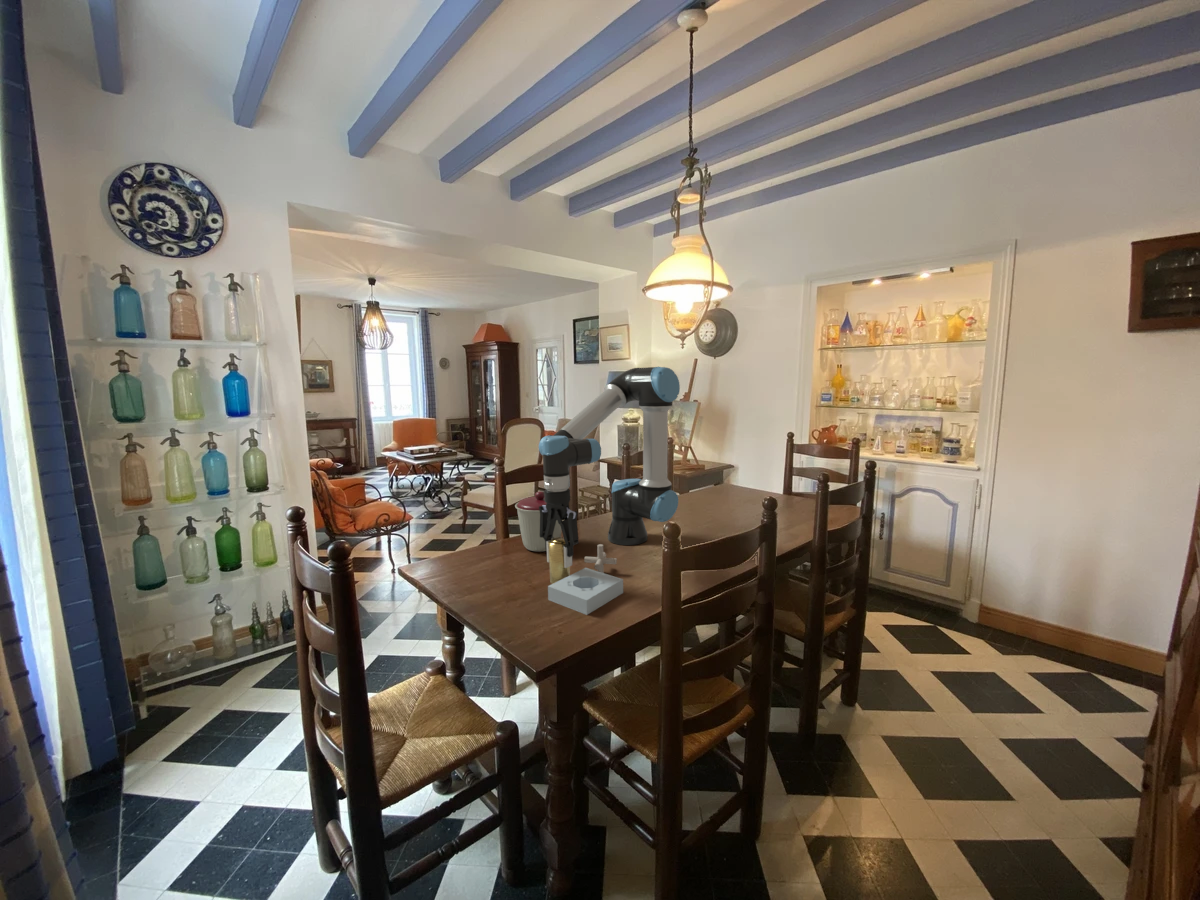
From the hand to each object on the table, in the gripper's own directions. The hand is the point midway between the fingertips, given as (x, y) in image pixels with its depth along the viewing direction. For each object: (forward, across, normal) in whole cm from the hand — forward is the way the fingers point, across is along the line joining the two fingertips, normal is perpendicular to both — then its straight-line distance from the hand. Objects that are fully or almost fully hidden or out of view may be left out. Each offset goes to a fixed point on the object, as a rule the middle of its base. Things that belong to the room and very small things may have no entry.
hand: (559, 563), depth 143 cm
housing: (+7, +13, -3) cm, 15 cm away
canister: (+7, -27, +19) cm, 34 cm away
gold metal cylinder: (+6, 0, 0) cm, 6 cm away
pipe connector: (+7, +6, +12) cm, 15 cm away
